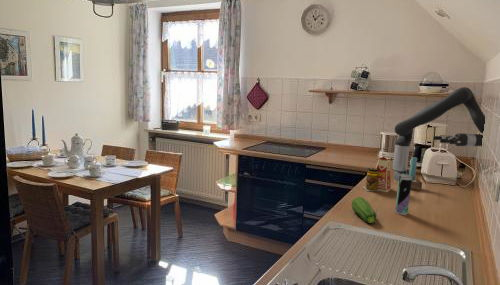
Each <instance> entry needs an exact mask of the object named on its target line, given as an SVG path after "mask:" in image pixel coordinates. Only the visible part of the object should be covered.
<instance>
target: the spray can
mask: <svg viewBox="0 0 500 285" xmlns="http://www.w3.org/2000/svg"><path fill="white" fill-rule="evenodd" d="M411 182H412V176H410V175H409V170H407V171H404V173H403V174H401V175H399V181H398V183H397V193H396V200H395V209H394V213H395V214H397V215H402V216H407V215H408V213H409V206H410V198H411V191H412V190H411Z"/></svg>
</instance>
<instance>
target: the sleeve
mask: <svg viewBox="0 0 500 285" xmlns="http://www.w3.org/2000/svg"><path fill="white" fill-rule="evenodd" d="M403 173H404V171H397V170H394V173H393V179H395V180H396V181H398V182H399V175H401V174H403Z"/></svg>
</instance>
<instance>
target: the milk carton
mask: <svg viewBox="0 0 500 285" xmlns="http://www.w3.org/2000/svg"><path fill="white" fill-rule="evenodd" d="M375 168H377V169H378V186H377V190H379V191H378V192H384V193H388V192H390V190H391V189H392V173H391V172H392V171H391V161H390V160H389V159H388V158H387V157H386V155H385V154H382V157H379V159H378V160H377V163H376V167H375Z"/></svg>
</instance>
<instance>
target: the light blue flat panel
mask: <svg viewBox="0 0 500 285" xmlns="http://www.w3.org/2000/svg"><path fill="white" fill-rule="evenodd" d="M417 163H418V157H416V156H411V157H410V163H409V164H410V165H409V170H408V173H409V175H410V176H412V181H414V182H417V181H416V174H417V173H416V172H417Z"/></svg>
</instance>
